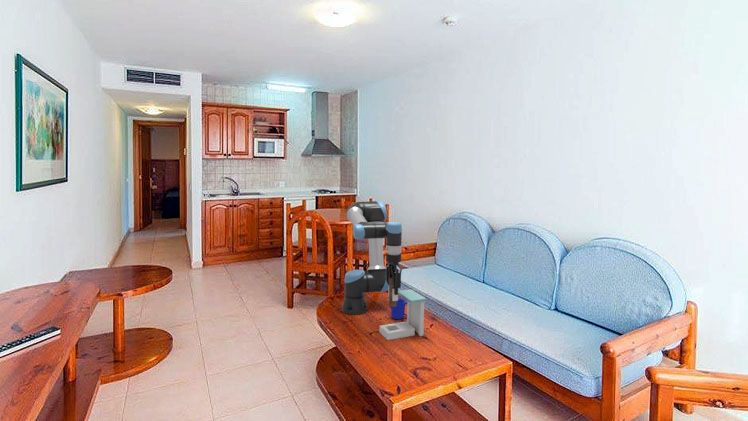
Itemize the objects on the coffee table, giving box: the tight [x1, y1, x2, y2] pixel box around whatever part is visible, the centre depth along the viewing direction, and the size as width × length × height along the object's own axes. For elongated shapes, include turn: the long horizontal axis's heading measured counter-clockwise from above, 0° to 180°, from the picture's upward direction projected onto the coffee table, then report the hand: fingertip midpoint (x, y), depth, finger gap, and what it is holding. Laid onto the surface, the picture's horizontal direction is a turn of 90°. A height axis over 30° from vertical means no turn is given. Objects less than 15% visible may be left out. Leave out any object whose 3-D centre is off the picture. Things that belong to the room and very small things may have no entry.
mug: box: [390, 297, 407, 320], centre depth 223 cm, size 8×12×10 cm
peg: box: [388, 277, 397, 308], centre depth 199 cm, size 4×4×14 cm
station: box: [379, 288, 427, 341], centre depth 203 cm, size 16×20×20 cm
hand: (393, 299), depth 200 cm, fingers closed on peg, 4 cm apart
